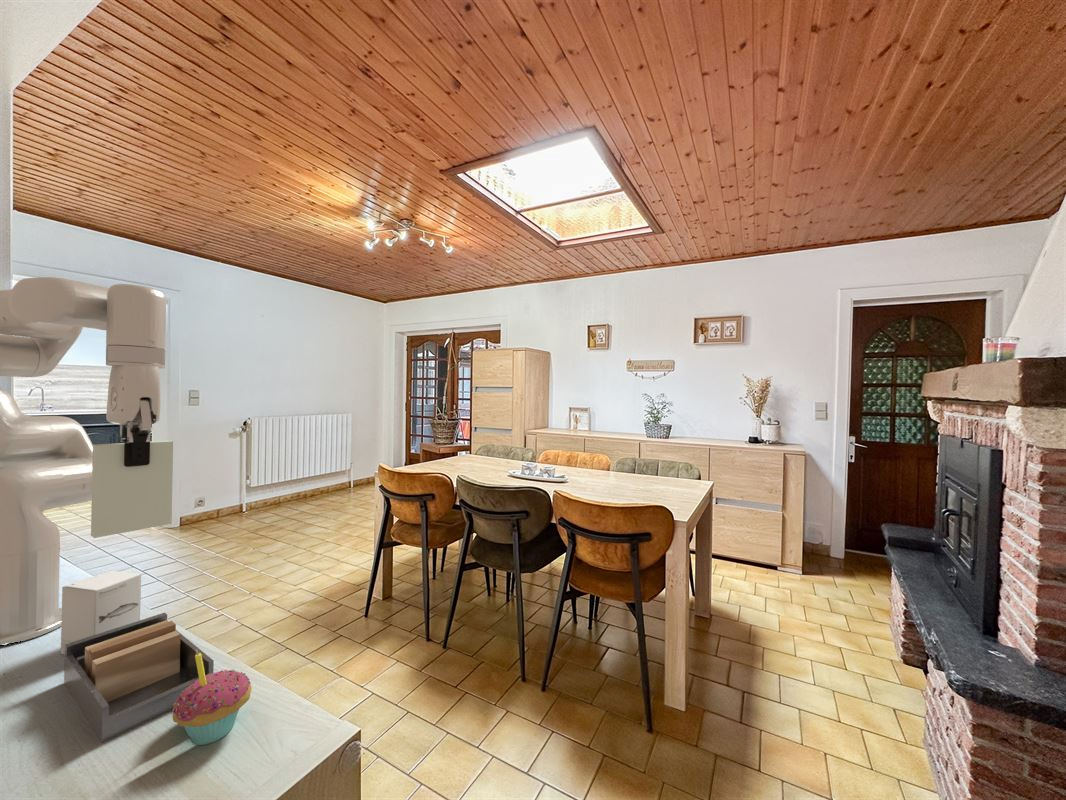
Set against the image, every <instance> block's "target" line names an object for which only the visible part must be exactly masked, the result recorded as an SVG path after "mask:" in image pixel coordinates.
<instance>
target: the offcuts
mask: <svg viewBox="0 0 1066 800" xmlns="http://www.w3.org/2000/svg"><path fill="white" fill-rule="evenodd" d="M176 626H177V624H176V623H175V622H174V621H172V620H168V619H167V620H166V621H163V622H160V623H157V624H154V625H151V626H148V627H145V628H142V629H139V630H136V631H133V632H130V633H127V634H124V635H121V636H118V637H115V638H112V639H109V640H106V641H103V642H100V643H97V644H94V645H91V646H88V647H85V673H86V674H87V676H88V677H89V678H90V680H91V681H92V682H93V684H94V685H95V687H96V688H97V689H98V691H99V692H100V693H101V695H102V696H103V698H104V699H105V700H106V702H109V701H112V700H114V699H116V698H119V697H121V696H124V695H126V694H128V693H131V692H133V691H135V690H138V689H140V688H143V687H145V686H147V685H150V684H152V683H154V682H157V681H159V680H161V679H164V678H166V677H169V676H171V675H173V674H176V673H178V672H180V632H179V631H178V630H177V628H176ZM176 630H177V631H178V632H179V633H178V632H177V631H176Z"/></svg>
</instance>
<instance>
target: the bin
mask: <svg viewBox="0 0 1066 800" xmlns="http://www.w3.org/2000/svg"><path fill="white" fill-rule="evenodd" d="M166 620H168V614H167V612H162V613H159V614H155V615H151V616H150V617H145V618H142V619H140V621H137V622H133V623H130V624H127V625H124V626H121V627H118V628H115V629H112V630H109V631H105V632H102V633H99V634H96V635H93V636H90V637H87V638H84V639H81V640H77V641H74V642H71V643H68V644H65V654H64V661H63V662H64V667H63V670H64V671H63V679H64V680H63V683H64V685H65V687H66V688H67V690H68V691H69V693H70V696H72V699H73V700H74V701H75V703H76V704H77V706H78V708H79V709H80V711H81V712H82V714H83V715H84V717H85V719H86V720H87V721H88V723H89V725H90V726H91V728H92V729H93V731H94V733H95V734H96V736H97V738H98V739H99V741H100V743H102V744H103V743H105V742H108V741H109V740H111V739H113V738H115V737H118V736H120V735H122V734H124V733H126V732H128V731H130V730H133V729H134V728H137V727H138V726H139V727H140V726H141V725H143V724H145V723H147V722H150V721H151V720H154V719H155V718H158V717H160V716H162V715H164V714H166V713H168V712H170V711H173V707H174V706H173V705H174V703H175V701H176V699H177V698H178V697H179V696H180V694H181V692H182V691H184V690H185V689H186V688H187V687H189V686H188V685H190V684H191V683H193V682H194V681H196V680H198V679H199V675H198V670H197V664H196V659H195V655H197V654H196V651H195V650H197V651H198V654H199V653H201V655H202V661H203V666H204V672H205V676H206V675H207V674H211V673H214V666H215V665H214V661H215V660H214V659H212V658H211V657H210V656H208V655H207V654H206V653H205V652H204V651H203V650H201V649H200V648H199V647H198V646H197V645H195V644H194V643H193V642H192V641H191V640H189V638H187V637H186V636H185V635H183V634H182V633H180V632H179V631H178V630H177V629H176V631H177V632H178V633H180V672H178V673H176V674H173V675H171V676H169V677H166V678H164V679H161V680H159V681H157V682H154V683H152V684H150V685H147V686H145V687H143V688H140V689H138V690H135V691H133V692H131V693H128V694H126V695H124V696H121V697H119V698H116V699H114V700H112V701H109V702H106V700H105V699H104V698H103V696H102V695H101V693H100V692H99V691H98V689H97V688H96V687H95V685H94V684H93V682H92V681H91V680H90V678H89V677H88V676H87V674H86V673H85V647H88V646H91V645H94V644H97V643H100V642H103V641H106V640H109V639H112V638H115V637H118V636H121V635H124V634H127V633H130V632H133V631H136V630H139V629H142V628H145V627H148V626H151V625H154V624H157V623H160V622H163V621H166Z"/></svg>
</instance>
